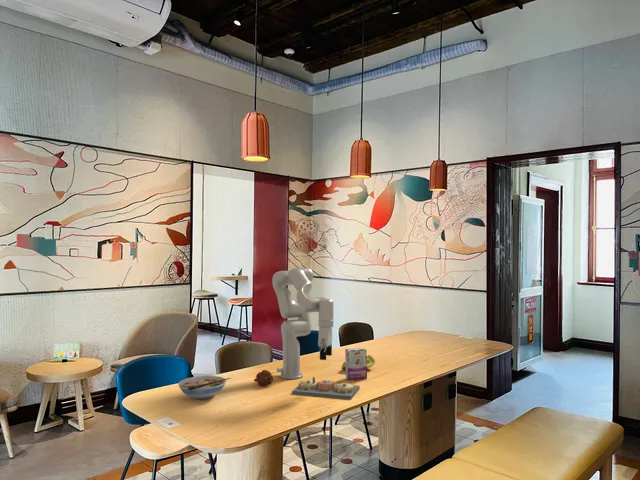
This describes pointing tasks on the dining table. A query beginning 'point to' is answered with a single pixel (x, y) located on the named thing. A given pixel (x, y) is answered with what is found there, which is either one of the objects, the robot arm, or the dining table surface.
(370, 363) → the plastic component
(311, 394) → the gear board
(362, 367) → the candy bar box
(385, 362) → the dining table surface
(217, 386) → the ramen bowl
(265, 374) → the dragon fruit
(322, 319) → the robot arm
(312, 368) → the dining table surface
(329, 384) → the idler gear
